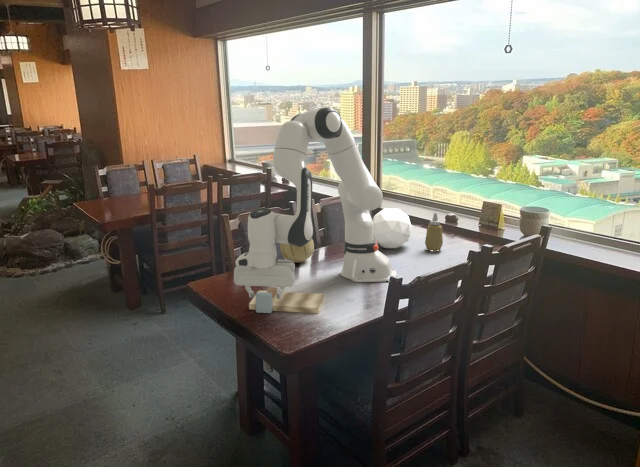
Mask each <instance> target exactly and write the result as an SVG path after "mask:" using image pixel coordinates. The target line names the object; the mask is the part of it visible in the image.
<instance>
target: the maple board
mask: <svg viewBox="0 0 640 467" xmlns="http://www.w3.org/2000/svg"><path fill="white" fill-rule="evenodd" d="M267 291H268V290H258V291H257V292H267ZM278 292H279V291H278V290H277V292H276V293H275V295H274V296H273V298H272V307H273V311H274V312H288V313H289V312H290V313H304V314H319V313H320V311H321V308H322V307H323V306H322V305H323V303H324V300H325V294H324V293H312V292H311V293H310V292H296V291H295V292H294V291H293V292H292V291H283V292H282V299H277V293H278ZM248 309H249V310H255V311H256V296H255V297H254V298H251V300H250V301H249V303H248ZM273 311H272V312H273Z"/></svg>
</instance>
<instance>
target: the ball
mask: <svg viewBox="0 0 640 467" xmlns="http://www.w3.org/2000/svg"><path fill="white" fill-rule="evenodd" d="M372 221H373V240H374V241H375V242H376V241H377V243H378V246H380V247H382V248H383V247H384V248H383V249H398V248H400V247H401V246H402V245H405V244H406V243H407V242H408V241H409V240H410V237H411V234H412V231H413V227H412V224H411V220H410V216H409V215H408V214H406V213H405V212H403V211H402V210H401V209H399V208H393V207H391V208H389V207H384V208H383V209H381V210H380V211H378V213H376V214H375V215H373V218H372Z"/></svg>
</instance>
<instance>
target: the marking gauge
mask: <svg viewBox="0 0 640 467" xmlns="http://www.w3.org/2000/svg"><path fill="white" fill-rule="evenodd" d="M266 291H267V292H258V291H257V292H256V293H255V296H256V310H255V312H256V313H258V314H259V313H263V314H272V313H273V307H272V298H273V296H274V295H275V293H276V292H277V291H278V287H268V290H266Z"/></svg>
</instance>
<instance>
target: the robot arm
mask: <svg viewBox="0 0 640 467" xmlns="http://www.w3.org/2000/svg"><path fill="white" fill-rule="evenodd" d="M321 141H322V142H323V143H324V146H325V149H326V152H327V154H328V157H329V159H330V162H331V164H332V167H333V169H334V172H335V173H336V175H337V176H338V178H339V179H340V180H341V181H339V183H338V186H337V192H338V194H339V198H340V201H341V206H342V213H343V219H344V240H343V255H344V256H343V264H342V269H341V272H340V275H341V276H342V277H343V278H346V279H348V280H350V281H352V282H354V283H378V282H379V283H383V282H386V281H388V280H389V277H390V276H394V277H396V278H397V275H398V274H397V270H396V269H395V268H393V267H392V264H391V259H390V258H389V257H388V256H386V254H384V253H383V252H381V251H379V244H378V243H377V241H376V242H375V241H374V240H373V221H372V220H373V218H372V216H371V213H370V211H374V210H376V209H378V208H379V207H380V206H381V204H382V203H383V199H384V196H383V191H382V189H381V188H380V187H379V186H378V185H377V183H376V182H375V180H374V178H373V176H372V175H371V173H370V171H369V169H368V168H367V166H366V164H365V163H364V160H363V158H362V156H361V153H360V151H359V148H358V145H357V143H356V140H355V138H354V135H353V133H352V131H351V129H350V128H349V126H348V125H347V123H346V122H345V120H344V119H342V117H341V116H340V113H339V112H338V111H337V109H334V108H332V107H322V108H315V109H310V110H308V111H305V112H302V113H298V114H296V115H295V116H293V117H292V118H291V119H290V120H288V121H286V122H284V123H283V124H282V125H281V127H280V129H279V132H278V134H277V138H276V142H275V145H274V150H273V155H272V166H273V169H274V171H275V172H276V173H277V174H278V175H279V176H280V177H282V178H283V179H285V180H287V181H288V182H290V183H291V184H293V185H294V186H295V189H296V212H295V214H294V215H290V214H282V213H276V212H274V211H272V209H271V208H269V207H260V208H256V209H253V210H252V211H250V213H249V214H248V218H247V238H248V242H249V247H248V248H249V249H248V251H247V252H244V253H242V254H240V255H239V256H238V257H237V258H236V259H235V262H234V263H235V267H234V270H233V282H234V285H236V286H244V289H245V290H246V292H247V293H248V296H249V297H248V298H249V299H253V298H254V297H255V295H256V293H255V291H254V290H252V288H251V287H268V288H270V287H277V288H279V290H280V291H278V293H277V299H282V292H284V290H285V288H292V287H293V286H294V285H295V284H296V275H295V270H296V264H295V263H294V262H293V261H291V260H290V259H285V258H278V255H277V251H278V250H277V246H276V243H278V244H280V243H284V244H290V245H293V246H297V247H303V246H304V245H306V244H307V243H308V242H309V241H310V240H311V239H313V236H314V222H313V176H312V172H311V170H309V169H308V167H307V153H308V145H309V143H316V142H321ZM388 282H389V281H388Z"/></svg>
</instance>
